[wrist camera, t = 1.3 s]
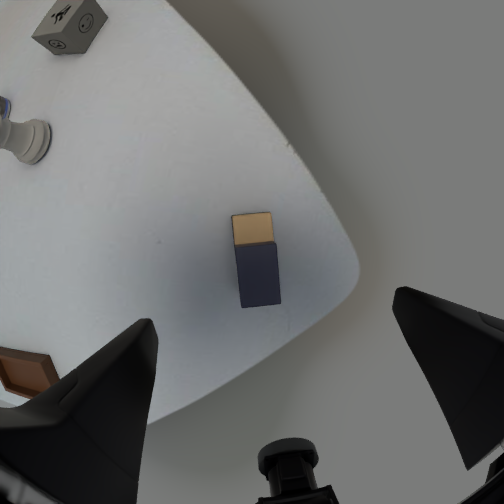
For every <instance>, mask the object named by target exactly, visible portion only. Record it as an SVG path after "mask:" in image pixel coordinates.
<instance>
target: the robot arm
mask: <svg viewBox="0 0 504 504" xmlns="http://www.w3.org/2000/svg"><path fill="white" fill-rule="evenodd" d="M392 310H393V313H394V315H395V318H396V320H397V322H398V324H399V326H400V329H401V331H402V333H403V335H404V337H405V340H406V342H407V344H408V346H409V347H410V349H411V351H412V353H413V354H414V356H415V358H416V360H417V362H418V364H419V366H420V367H421V369H422V371H423V373H424V375H425V377H426V379H427V381H428V382H429V385H430V387H431V389H432V391H433V393H434V395H435V397H436V399H437V401H438V403H439V405H440V407H441V409H442V411H443V413H444V416H445V418H446V420H447V422H448V425H449V426H450V429H451V432H452V434H453V436H454V439H455V441H456V444H457V446H458V449H459V451H460V454H461V456H462V459H463V462H464V464H465V467H466V469H467V470H470V469H471V468H472V467H474V466H475V465H476V464H478V463H479V462H480V461H482V460H483V459H484V458H486V457H487V456H488V455H489V454H491V453H492V452H493V451H494V450H496V449H497V448H498V447H499V446H500V445H501V447H502V448H503V450H504V320H502V319H499V318H496V317H493V316H490V315H487V314H484V313H481V312H477V311H476V310H473V309H470V308H467V307H464V306H462V305H459V304H456V303H453V302H450V301H447V300H445V299H442V298H439V297H436V296H433V295H430V294H427V293H424V292H421V291H418V290H415V289H413V288H409V287H407V286H404V287H399V288H397V289H396V291H395V296H394V301H393V306H392ZM157 353H158V336H157V333H156V330H155V327H154V324H153V321H152V320H151V319H150V318H146V319H139V320H138V321H137V322H135V323H134V324H133V325H131V326H130V327H129V328H127V329H126V330H125V331H123V332H122V333H121V334H119V335H118V336H117V337H115V338H114V339H113V340H111V341H110V342H109V343H108V344H106V345H105V346H104V347H102V348H101V349H100V350H98V351H97V352H96V353H94V354H93V355H92V356H91V357H89V358H88V359H87V360H85V361H84V362H83V363H81V364H80V365H79V366H78V367H77V368H76V369H74V370H72V371H71V372H70V373H69V374H67V375H66V376H65V377H63V378H62V379H60V380H59V381H58V382H56V383H55V384H53V385H52V386H50V387H49V388H47V389H46V390H44V391H43V392H41V393H40V394H38V395H37V396H35V397H34V398H32V399H31V400H29V401H27V402H26V403H24V404H22V405H20V406H18V407H14V408H1V407H0V504H136V502H137V492H138V481H139V472H140V465H141V458H142V451H143V444H144V437H145V431H146V425H147V419H148V413H149V408H150V402H151V397H152V392H153V387H154V382H155V375H156V363H157ZM314 456H315V452H314V450H313V449H309V450H304V451H298V452H292V453H285V454H277V455H269V456H264V457H263V462H264V469H265V476H266V480H267V481H269V484H270V493H271V497H266V498H263V497H260V498H258V502H257V503H256V504H339V502H338V500H337V498H336V496H335V493H334V491H333V489H332V486H331V485H327V486H326V487H322V488H318V487H317V484H316V480H315V476H314V473H313V466H314ZM458 504H504V453H503V454H502V455H500V457H498V458H497V459H496V460H495V461H494V462H493V463H491V464H490V467H489V471H488V475H487V479H486V482H485V484H484V485H483V486H482V487H480V488H479V489H478V490H476V491H475V492H474V493H472V494H471V495H470V496H468V497H467V498H466V499H464V500H462V501H461V502H460V503H458Z"/></svg>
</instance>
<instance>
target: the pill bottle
mask: <svg viewBox="0 0 504 504" xmlns="http://www.w3.org/2000/svg"><path fill="white" fill-rule="evenodd" d="M9 112H10V102H9V100H8V99H6V98H4V97H1V96H0V115H1V118H2V119H4V118H8V116H9Z"/></svg>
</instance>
